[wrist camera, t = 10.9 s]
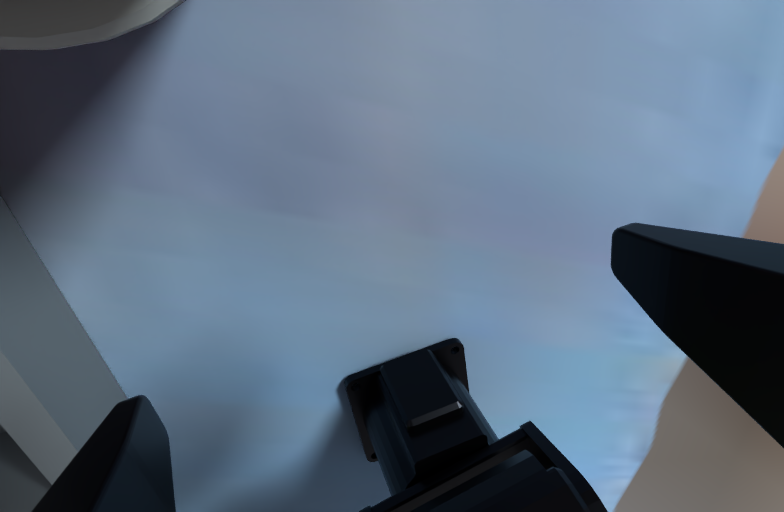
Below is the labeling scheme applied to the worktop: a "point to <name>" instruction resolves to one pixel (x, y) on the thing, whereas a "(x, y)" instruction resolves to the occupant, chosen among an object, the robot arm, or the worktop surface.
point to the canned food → (74, 21)
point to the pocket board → (42, 375)
